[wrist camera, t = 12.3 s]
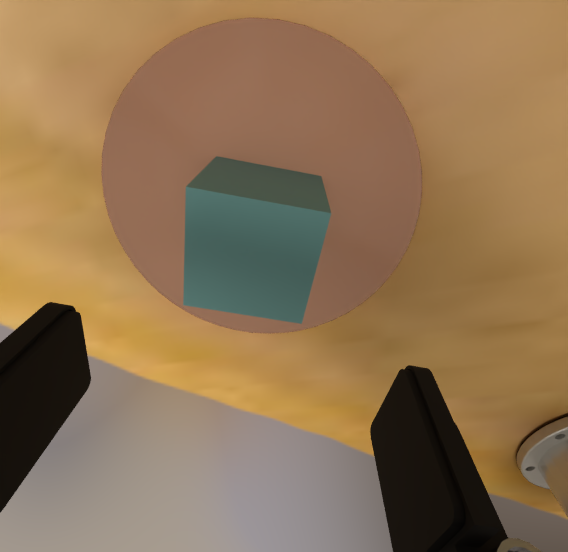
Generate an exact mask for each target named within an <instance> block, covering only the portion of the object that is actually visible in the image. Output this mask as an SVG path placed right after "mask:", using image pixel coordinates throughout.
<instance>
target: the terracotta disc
mask: <svg viewBox="0 0 568 552" xmlns="http://www.w3.org/2000/svg"><path fill="white" fill-rule="evenodd" d="M216 156H218V157H224V158H229V159H234V160H239V161H245V162H250V163H255V164H260V165H266V166H271V167H276V168H282V169H287V170H292V171H297V172H303V173H308V174H313V175H318V176H321V177H322V181H323V184H324V188H325V192H326V195H327V199H328V203H329V206H330V210H331V216H330V220H329V224H328V228H327V231H326V235H325V239H324V243H323V246H322V250H321V254H320V258H319V261H318V265H317V269H316V273H315V276H314V280H313V284H312V288H311V291H310V295H309V299H308V303H307V306H306V310H305V314H304V318H303V321H302V324H299V323H293V322H286V321H280V320H274V319H267V318H261V317H255V316H248V315H242V314H236V313H229V312H223V311H217V310H210V309H204V308H198V307H191V306H185V305H183V294H184V247H185V200H186V186H187V185H188V184H189V183H190V182H191V181H192V180H193V179H194V178H195V177H196V176H197V175H198V174H199V173H200V172H201V171H202V170H203V169H204V168H205V167H206V166H207V165H208V164H209V163H210V162H211V161H212V160H213V159H214V158H215V157H216ZM102 183H103V193H104V198H105V203H106V207H107V211H108V215H109V218H110V220H111V223H112V226H113V228H114V231H115V234H116V236H117V238H118V239H119V241H120V243H121V245H122V247H123V249H124V251H125V252H126V254H127V255H128V257H129V258H130V260H131V261H132V263H133V264H134V266H135V267H136V268H137V269H138V271H139V272H140V273H141V274H142V275H143V277H144V278H145V279H146V280H147V281H148V282H149V283H150V284H151V285H152V286H153V287H154V288H155V289H156V290H157V291H158V292H159V293H161V294H162V295H163V296H165V297H166V298H167V299H169V300H170V301H171V302H172V303H174V304H175V305H177V306H179V307H180V308H182V309H183V310H185V311H187V312H188V313H190V314H192V315H194V316H196V317H199V318H201V319H203V320H205V321H208V322H210V323H213V324H216V325H219V326H222V327H226V328H230V329H234V330H239V331H245V332H251V333H286V332H293V331H300V330H304V329H308V328H312V327H316V326H318V325H321V324H324V323H327V322H329V321H332V320H334V319H336V318H338V317H340V316H342V315H344V314H346V313H348V312H349V311H351V310H352V309H354V308H355V307H357V306H359V305H360V304H361V303H363V302H364V301H365V300H366V299H368V298H369V297H370V296H371V295H372V294H374V293H375V292H376V291H377V290H378V289H379V288H380V287H381V286H382V284H383V283H384V282H385V281H386V280H387V279H388V278H389V276H390V275H391V274H392V272H393V271H394V270H395V268H396V267H397V266H398V264H399V262H400V260H401V259H402V257H403V255H404V254H405V252H406V250H407V248H408V245H409V243H410V241H411V238H412V236H413V233H414V230H415V227H416V223H417V219H418V216H419V210H420V203H421V196H422V170H421V162H420V155H419V149H418V146H417V142H416V139H415V135H414V132H413V128H412V126H411V124H410V121H409V119H408V117H407V115H406V113H405V110H404V108H403V106H402V105H401V103H400V101H399V100H398V98H397V97H396V95H395V94H394V92H393V90H392V89H391V87H390V86H389V85H388V83H387V82H386V81H385V80H384V79H383V78H382V77H381V75H380V74H379V73H378V72H377V71H376V70H375V69H374V67H373V66H372V65H370V64H369V63H368V62H367V61H366V60H364V59H363V58H362V57H361V56H360V55H358V54H357V53H356V52H355V51H354V50H352V49H351V48H349V47H348V46H346V45H344V44H343V43H341V42H339V41H338V40H336V39H334V38H333V37H331V36H329V35H327V34H324V33H322V32H319V31H317V30H314V29H312V28H309V27H307V26H305V25H300V24H296V23H291V22H287V21H283V20H278V19H262V18H245V19H235V20H226V21H221V22H218V23H214V24H211V25H207V26H204V27H200V28H198V29H195V30H193V31H191V32H189V33H187V34H185V35H183V36H181V37H179V38H176V39H175V40H173V41H172V42H170V43H169V44H168V45H166V46H165V47H163V48H162V49H160V50H159V51H158V52H156V53H155V54H154V55H153V56H152V57H151V58H150V59H149V60H148V61H147V62H146V63H145V64H144V65H143V66H142V67H141V68H140V69H139V70H138V71H137V72H136V73H135V75H134V76H133V77H132V79H131V80H130V82H129V83H128V84H127V86H126V87H125V88H124V90H123V92H122V94H121V96H120V98H119V100H118V102H117V104H116V105H115V107H114V109H113V112H112V115H111V118H110V121H109V124H108V127H107V130H106V134H105V140H104V146H103V152H102Z"/></svg>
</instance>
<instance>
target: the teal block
mask: <svg viewBox="0 0 568 552" xmlns="http://www.w3.org/2000/svg"><path fill="white" fill-rule="evenodd" d="M330 216H331V210H330V206H329V203H328V199H327V195H326V192H325V188H324V184H323V181H322V177H321V176H318V175H313V174H308V173H303V172H297V171H292V170H287V169H282V168H276V167H271V166H266V165H260V164H255V163H250V162H245V161H239V160H234V159H229V158H224V157H218V156H216V157H215V158H214V159H213V160H212V161H211V162H210V163H209V164H208V165H207V166H206V167H205V168H204V169H203V170H202V171H201V172H200V173H199V174H198V175H197V176H196V177H195V178H194V179H193V180H192V181H191V182H190V183H189V184H188V185H187V186H186V200H185V247H184V294H183V305H185V306H191V307H198V308H204V309H210V310H217V311H223V312H229V313H236V314H242V315H248V316H255V317H261V318H267V319H274V320H280V321H286V322H293V323H299V324H302V321H303V318H304V314H305V310H306V306H307V303H308V299H309V295H310V291H311V288H312V284H313V280H314V276H315V273H316V269H317V265H318V261H319V258H320V254H321V250H322V246H323V243H324V239H325V235H326V231H327V228H328V224H329V220H330Z"/></svg>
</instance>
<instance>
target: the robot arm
mask: <svg viewBox="0 0 568 552" xmlns="http://www.w3.org/2000/svg"><path fill="white" fill-rule="evenodd" d="M90 381H91V376H90V369H89V363H88V357H87V351H86V345H85V339H84V332H83V326H82V320H81V315H80V313H79V312H76V310H75V308H74V307H73V306H70V305H64V304H58V303H53V302H50V303H47V304H45V305H44V306H43V307H42V308H41V309H39V310H38V311H37V312H36V313H35V314H34V315H32V316H31V317H30V318H29V319H28V320H27V321H25V322H24V323H23V324H22V325H21V326H20V327H18V328H17V329H16V330H15V331H14V332H13V333H11V334H10V335H9V336H8V337H7V338H6V339H4V340H3V341H2V342H1V343H0V512H1V511H2V510H3V508H4V507H5V506H6V504H7V503H8V501H9V500H10V499H11V497H12V496H13V494H14V493H15V491H16V490H17V489H18V487H19V486H20V485H21V483H22V482H23V480H24V478H25V477H26V476H27V474H28V473H29V472H30V470H31V469H32V467H33V466H34V464H35V463H36V462H37V460H38V459H39V457H40V456H41V455H42V453H43V452H44V450H45V449H46V448H47V446H48V445H49V443H50V442H51V440H52V439H53V438H54V436H55V434H56V433H57V432H58V430H59V429H60V428H61V426H62V425H63V423H64V422H65V421H66V419H67V418H68V416H69V415H70V413H71V412H72V410H73V409H74V408H75V406H76V405H77V403H78V402H79V401H80V399H81V398H82V396H83V395H84V394H85V392H86V391H87V389H88V387H89V384H90ZM370 432H371V440H372V445H373V451H374V456H375V461H376V466H377V471H378V476H379V481H380V486H381V491H382V497H383V502H384V507H385V512H386V517H387V522H388V527H389V533H390V537H391V543H392V548H393V552H541V551H540V550H539V549H537V548H535V547H534V546H533V545H531V544H530V543H528V542H525V541H523V540H520V539H513V538H508V537H507V535H506V533H505V530H504V528H503V526H502V524H501V522H500V520H499V517H498V515H497V513H496V511H495V508H494V506H493V504H492V502H491V500H490V498H489V495H488V493H487V491H486V488H485V486H484V484H483V482H482V480H481V477H480V475H479V473H478V471H477V469H476V466H475V464H474V462H473V460H472V458H471V455H470V453H469V451H468V449H467V447H466V444H465V442H464V440H463V438H462V436H461V433H460V431H459V429H458V427H457V425H456V424H455V423H454V421H453V419H452V417H451V414H450V412H449V410H448V408H447V405H446V403H445V401H444V399H443V396H442V394H441V392H440V390H439V388H438V385H437V383H436V381H435V379H434V376H433V374H432V372H431V371H430V370H429V369H427V368H422V367H416V366H410V365H409V366H407V367H406V368H405V370H404V369H401V370H400V371H399V373H398V375H397V377H396V378H395V380H394V382H393V384H392V386H391V388H390V390H389V392H388V394H387V396H386V398H385V399H384V401H383V403H382V405H381V407H380V409H379V411H378V413H377V415H376V417H375V419H374V421H373V422H372V425H371V431H370ZM517 465H518V467H519V469H520V470H521V472H522V474H523V476H524V477H525V478H526V479H527V480H528V481H529V482H531V483H533V484H534V485H537V486H540V487H543V488H546V489H551V491H552V493H553V494H554V496H555V497H556V499H557V501H558V502H559V504H560V505H561V507H562V509H563V510H564V512H565V514H566V515H567V517H568V416H567V417H564V418H562V419H559V420H556V421H554V422H552V423H550V424H548V425H546V426H544V427H543V428H541V429H540V430H538V431H536V432H535V433H534V434H532V435H531V436H530V437H529V438H528V439H527V440H526V441H525V442H524V443H523V444H522V446H521V448H520V449H519V451H518V453H517Z"/></svg>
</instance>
